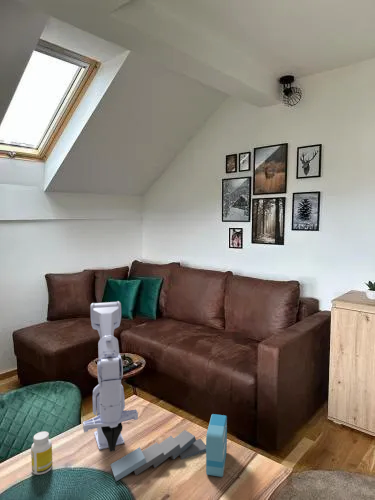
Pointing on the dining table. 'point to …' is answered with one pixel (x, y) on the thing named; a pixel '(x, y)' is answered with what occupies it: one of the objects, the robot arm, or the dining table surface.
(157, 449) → the domino
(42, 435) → the supplement bottle
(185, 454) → the domino
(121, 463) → the slate domino
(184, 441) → the domino
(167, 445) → the domino
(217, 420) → the data package
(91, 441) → the dining table surface
